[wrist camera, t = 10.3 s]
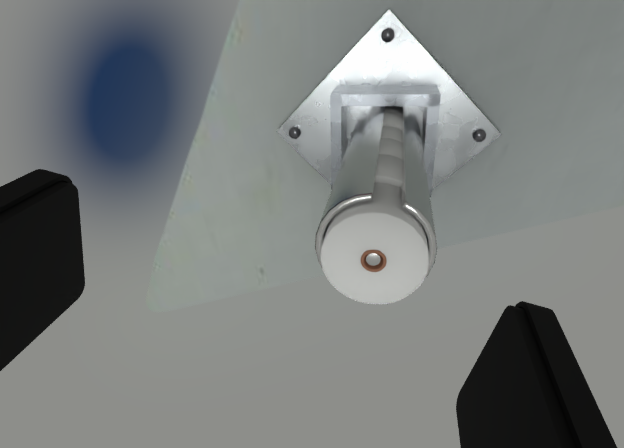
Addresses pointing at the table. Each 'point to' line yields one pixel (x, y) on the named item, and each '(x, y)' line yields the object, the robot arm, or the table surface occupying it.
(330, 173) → the metal base plate
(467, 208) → the table surface
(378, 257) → the air filter
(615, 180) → the table surface
